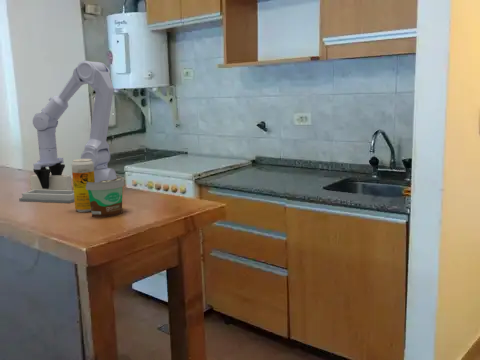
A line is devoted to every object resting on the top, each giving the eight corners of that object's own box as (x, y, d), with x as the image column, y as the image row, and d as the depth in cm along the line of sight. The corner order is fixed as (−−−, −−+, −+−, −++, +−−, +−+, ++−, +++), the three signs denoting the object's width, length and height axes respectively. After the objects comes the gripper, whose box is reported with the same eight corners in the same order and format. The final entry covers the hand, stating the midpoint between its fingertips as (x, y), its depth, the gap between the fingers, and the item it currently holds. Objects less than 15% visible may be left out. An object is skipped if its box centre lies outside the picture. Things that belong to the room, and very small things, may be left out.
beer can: (77, 213, 142) (73, 162, 139) (73, 209, 147) (69, 159, 144) (98, 210, 145) (95, 160, 142) (94, 206, 150) (90, 157, 147)
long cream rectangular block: (72, 192, 173) (70, 175, 172) (67, 194, 170) (65, 177, 169) (36, 191, 176) (35, 174, 175) (31, 192, 173) (29, 176, 172)
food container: (103, 220, 134) (100, 184, 132) (88, 217, 137) (85, 182, 135) (135, 210, 144) (133, 177, 142) (120, 208, 148) (118, 175, 146)
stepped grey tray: (85, 196, 164) (84, 190, 163) (70, 203, 155) (69, 196, 155) (36, 195, 168) (35, 188, 168) (19, 201, 159) (18, 194, 159)
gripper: (49, 145, 178) (53, 182, 180) (24, 150, 164) (28, 190, 166) (67, 145, 176) (70, 183, 179) (42, 150, 162) (46, 191, 165)
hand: (51, 186), depth 172 cm, fingers open, 6 cm apart
